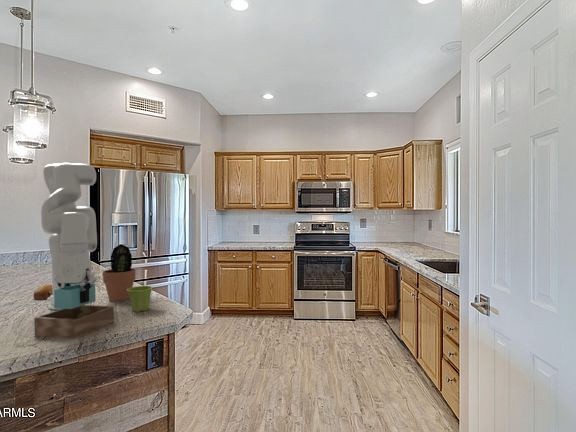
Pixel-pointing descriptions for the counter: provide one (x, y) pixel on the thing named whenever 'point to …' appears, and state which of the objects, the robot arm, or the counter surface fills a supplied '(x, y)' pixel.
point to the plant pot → (140, 297)
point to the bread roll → (43, 292)
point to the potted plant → (119, 274)
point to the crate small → (71, 297)
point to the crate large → (73, 321)
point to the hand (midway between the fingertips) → (75, 301)
